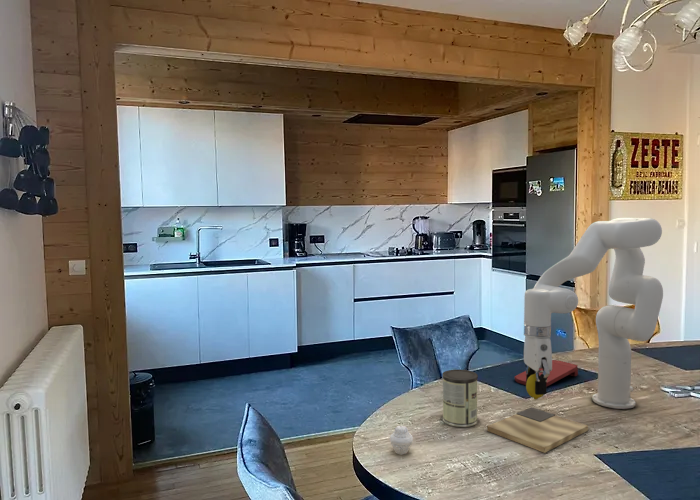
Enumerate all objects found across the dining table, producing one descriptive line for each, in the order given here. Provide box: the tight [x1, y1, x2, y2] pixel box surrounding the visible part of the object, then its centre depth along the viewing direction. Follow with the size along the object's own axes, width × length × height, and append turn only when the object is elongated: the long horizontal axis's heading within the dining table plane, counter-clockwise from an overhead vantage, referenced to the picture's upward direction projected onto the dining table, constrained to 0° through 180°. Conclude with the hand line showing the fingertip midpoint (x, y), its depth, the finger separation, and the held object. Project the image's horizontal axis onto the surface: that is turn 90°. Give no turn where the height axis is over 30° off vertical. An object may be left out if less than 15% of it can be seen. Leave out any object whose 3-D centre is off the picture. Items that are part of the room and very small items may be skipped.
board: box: [486, 406, 589, 454], centre depth 151 cm, size 22×18×2 cm
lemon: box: [525, 373, 544, 401], centre depth 159 cm, size 6×6×8 cm
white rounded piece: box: [389, 425, 414, 455], centre depth 139 cm, size 6×6×7 cm
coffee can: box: [441, 369, 479, 428], centre depth 159 cm, size 10×10×14 cm
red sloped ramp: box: [514, 359, 579, 388], centre depth 198 cm, size 12×5×25 cm
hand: (535, 390), depth 159 cm, fingers closed on lemon, 5 cm apart
